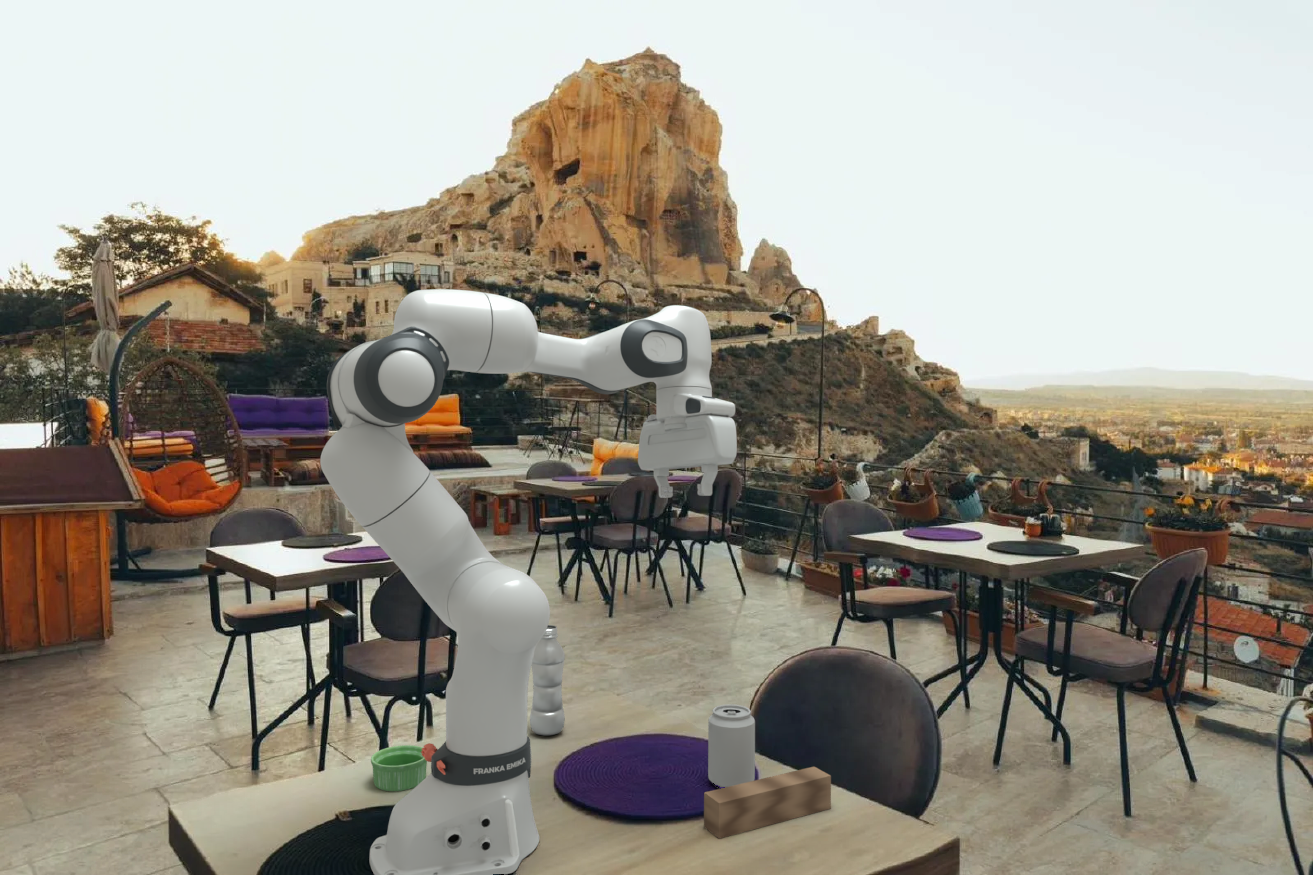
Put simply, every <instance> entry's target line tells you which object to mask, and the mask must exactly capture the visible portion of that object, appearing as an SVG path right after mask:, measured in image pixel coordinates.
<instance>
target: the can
mask: <svg viewBox="0 0 1313 875" xmlns="http://www.w3.org/2000/svg"><path fill="white" fill-rule="evenodd" d="M707 728H708V729H707V730H708V732H707V733H708V739H707V740H708V742H707V743H708V745H707V746H708V747H707V748H708V749H707V753H708V754H707V756H708V757H707V763H708V764H707V766H708V767H707V772H708V773H707V774H708V775H707V777H708V780H709V781H710V782H711V783H712V784H713V783H714V784H715V785H718V786H720V787H729V786H734V785H738V784H742V783H746V782H751V781H755V780H756V778H755V776H756V773H755V772H756V770H755V769H756V767H755V766H756V762H755V761H756V720H755V718H754V716H752V711H751V709H750V708H749V707H747V706H745V705H740V704H733V703H732V704H731V703H730V704H721V705H716V706H715V707H714V708H712V714H711V715H710V716H709V717H708V727H707ZM714 784H713V785H714ZM715 785H714V786H715Z"/></svg>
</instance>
